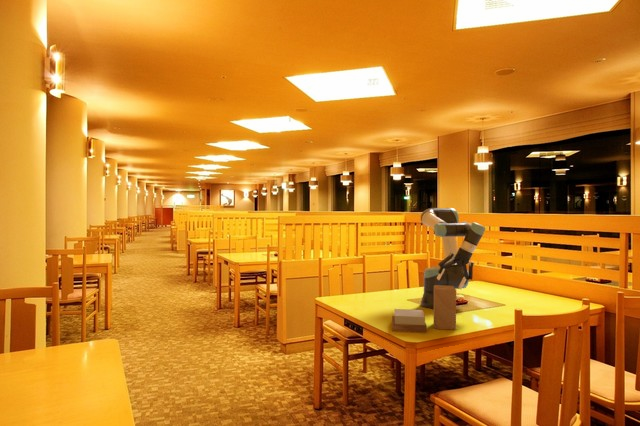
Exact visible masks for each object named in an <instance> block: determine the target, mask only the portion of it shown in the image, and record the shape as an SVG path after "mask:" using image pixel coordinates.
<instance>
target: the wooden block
mask: <svg viewBox="0 0 640 426" xmlns="http://www.w3.org/2000/svg"><path fill="white" fill-rule="evenodd" d="M433 325H434V329H435V330H446V331H447V330H448V331H449V330H451V331H456V330H457V289H455V288H454V286H443V285H434V308H433Z"/></svg>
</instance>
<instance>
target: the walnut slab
mask: <svg viewBox="0 0 640 426" xmlns="http://www.w3.org/2000/svg"><path fill="white" fill-rule="evenodd" d="M394 316H395V315H391V327H392V330H391V331H392V332H395V333H396V332H398V333H399V332H400V333H416V334H418V333H420V334H427V333H428V332H427V330H428V326H427V322H425V325H405V324H395V317H394Z"/></svg>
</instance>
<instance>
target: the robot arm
mask: <svg viewBox="0 0 640 426" xmlns="http://www.w3.org/2000/svg"><path fill="white" fill-rule="evenodd" d="M459 217H460V216H459V214H458V211H457V209H455V208H453V207H430V208H427V209H425V210H424V211H422V213H421V214H420V222H421V223H422V224H423V225H424V226H426V227H429V228H431V230H433V233H434V235H435V236H436V237H441V239H442V246H443V252H444V259H442V260H441V261H440V262H438V266H432V267H431V266H430V267H428V268H425V269H424V272H423V294H422V297H421V300H420V306H421V307H422V308H428V309H434V285H443V286H454V288H455V289H456V290H462V289H465V288H467V286H468V284H469V282H470V280H471V281H472V280H473V272H474V269H473V267H474V265H475V263H474V262H473V261H470V260H471V258H472V256H473V253H475V250H476V249H477V247H478V245H479V244H480V243H479V242H480V241H481V239H482V237H483V235H484V233H485V231H486V227H485V226H484V225H482V224H480V223H477V222H474V221H473V222H472V223H470V222H468V221H462V222H460V221H459ZM459 222H460V223H459ZM457 237H460V238H461V237H464V238H463V240H462V242H461V244H460V247H458V246H459V245H458V241H457ZM467 265H468V268H467Z"/></svg>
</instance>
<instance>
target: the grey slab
mask: <svg viewBox="0 0 640 426" xmlns="http://www.w3.org/2000/svg"><path fill="white" fill-rule="evenodd" d="M393 316H394V317H395V324H405V325H425V323H426V316H425V313H424V311H423V309H411V308H410V309H408V308H405V309H404V308H403V309H402V308H394V315H393Z"/></svg>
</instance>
